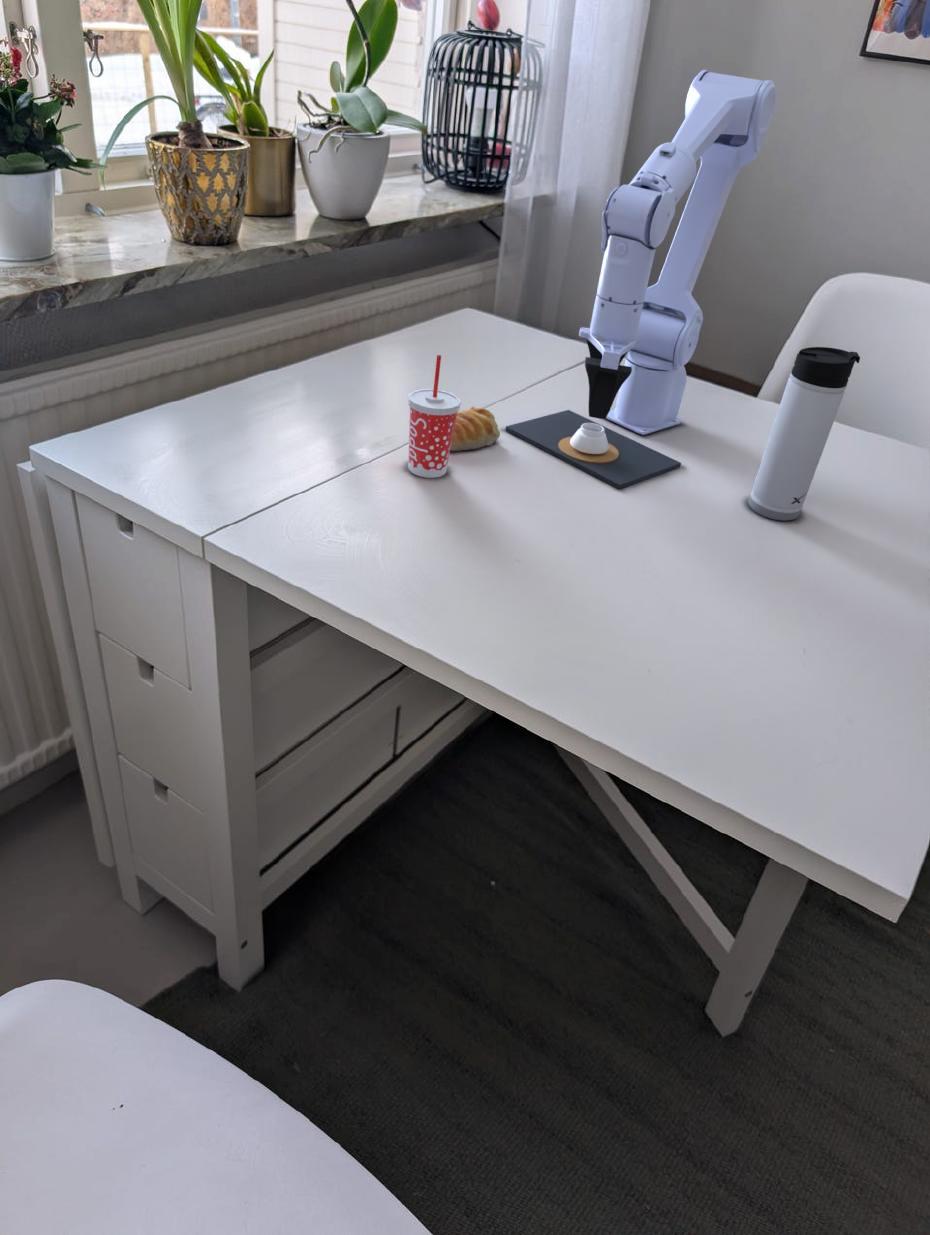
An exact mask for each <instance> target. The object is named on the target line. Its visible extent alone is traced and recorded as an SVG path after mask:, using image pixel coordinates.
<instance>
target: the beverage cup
mask: <svg viewBox="0 0 930 1235" xmlns="http://www.w3.org/2000/svg"><path fill="white" fill-rule="evenodd" d="M441 360H442V355H441V354H437V355H436V363H435V372H434V381H433V388H420V389H419V388H418V389H415V390H412V391H410V392H409V394H408V395H407V398H408V400H407V403H408V406H409V422H408V423H409V429H408V471H409V472H411V473H412V474H414V475H416V476H417V477H420V478H425V479H427V478H429V479H435V478H440V477H443V476H444V475H445V474H446V473H447V470H448V465H449V459H450V452H451V450H450V448H451V443H452V437H453V432H454V426H455V421H456V415H457V412H459V410H460V409H461V404H462V400H461V399H460V397H459V396H457V395H456V394H454V393H452V392H450V391H446V390H443V389H442V390H441V389H439V380H440V371H441Z"/></svg>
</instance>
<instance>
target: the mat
mask: <svg viewBox="0 0 930 1235" xmlns="http://www.w3.org/2000/svg"><path fill="white" fill-rule="evenodd" d="M584 423H594V424H598V425H600V426H602V427H603V428H604V431H605V432H604V433H605V434H606V438H607V441H608V445H609V449H608V450H607V452H605V453H602V454H586V453H583V452H580V451H578V450H576V449H575V448H573V447H572V446H571V445H570V439H571V438H572V437H573V435H574V434H575V433H576V432H577V430H578V429H580V428H581V425H582V424H584ZM505 431H506V432H508V433H509V434H512V435H514V436H515V437H517V438H520V439H521V440H523V441H525V442H527V443H529V444H531V445H533V446H535V447H536V448H538V449H541V450H542V451H544V452H546V453H549V454H550V455H552V456H554V457H556V458H558V459H560V460H562V461H564V462H566V463H568V464H570V465H571V466H574V467H575V468H578V469H579V470H581V471H583V472H585V473H587V474H588V475H591V476H593V477H595V478H597V479H598V480H600V481H603V482H604V483H606V484H608V485H610V486H612V487H615V488H616V489H618V490H620V489H623V488H626V487H628V486H632V485H634V484H637V483H640V482H642V481H645V480H648V479H650V478H653V477H656V476H659V475H662V474H664V473H667V472H670V471H672V470H675V469H678V468H680V467H681V464H682V463H681V462H680V461H679V460H676V459H674V458H672V457H669V456H667V455H665V454H663V453H662V452H659V451H657V450H655V449H652V448H650V447H648V446H646V445H645V444H642V443H640V442H638V441H636V440H634V439H632V438H630V437H627V436H625V435H623V434H621V433H619V432H617V431H614V430H613V429H610V428H608V427H606V426H604V425H601V424H600V423H597V422H595V421H593V420H592V419H589V418H587V417H585V416H582V415H580V414H578V413H577V412H574V411H572V410H570V409H567V410H563V411H558V412H555V413H552V414H548V415H544V416H540V417H537V418H532V419H529V420H525V421H522V422H518V423H514V424H509V425H506V426H505Z"/></svg>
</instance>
